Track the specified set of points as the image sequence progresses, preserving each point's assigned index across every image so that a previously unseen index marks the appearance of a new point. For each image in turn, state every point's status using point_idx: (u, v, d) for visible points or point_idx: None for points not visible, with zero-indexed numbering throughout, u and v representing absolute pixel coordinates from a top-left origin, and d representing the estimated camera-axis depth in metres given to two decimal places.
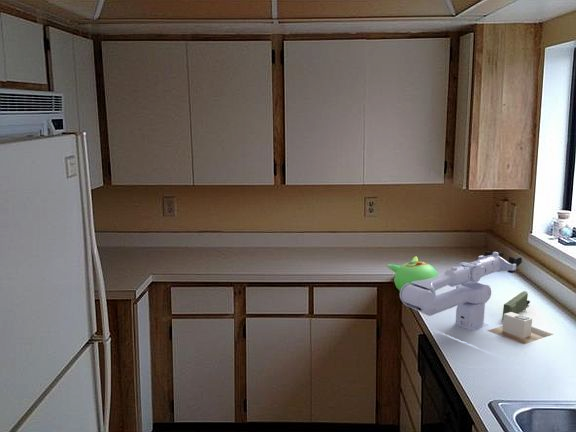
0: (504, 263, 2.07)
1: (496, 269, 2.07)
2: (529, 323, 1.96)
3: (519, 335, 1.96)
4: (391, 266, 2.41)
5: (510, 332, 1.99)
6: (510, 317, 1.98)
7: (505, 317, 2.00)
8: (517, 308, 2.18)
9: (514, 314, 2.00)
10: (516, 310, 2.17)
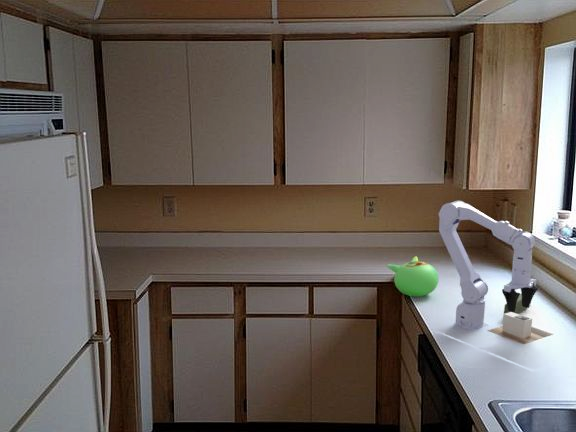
0: None
1: (513, 275, 1.95)
2: (529, 323, 1.96)
3: (519, 335, 1.96)
4: (391, 266, 2.41)
5: (510, 332, 1.99)
6: (510, 317, 1.98)
7: (505, 317, 2.00)
8: (518, 308, 2.17)
9: (514, 314, 2.00)
10: (517, 310, 2.17)
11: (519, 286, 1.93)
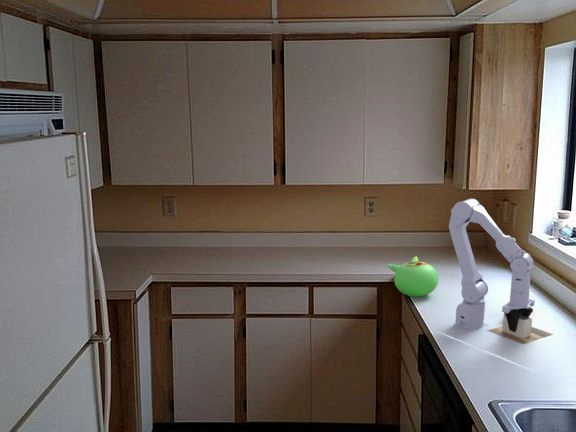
0: None
1: (511, 296, 1.96)
2: (529, 323, 1.96)
3: (519, 335, 1.96)
4: (391, 266, 2.41)
5: (510, 332, 1.99)
6: None
7: (505, 317, 2.00)
8: None
9: None
10: None
11: (517, 307, 1.94)
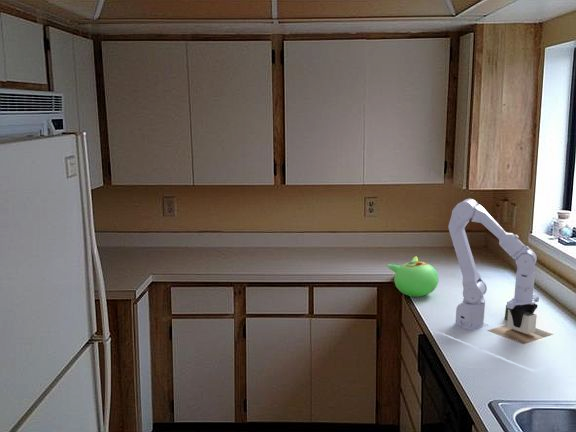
0: None
1: (516, 292, 1.98)
2: (534, 319, 1.97)
3: (524, 331, 1.97)
4: (391, 266, 2.41)
5: (515, 328, 2.00)
6: None
7: (510, 313, 2.01)
8: None
9: None
10: None
11: (522, 303, 1.95)
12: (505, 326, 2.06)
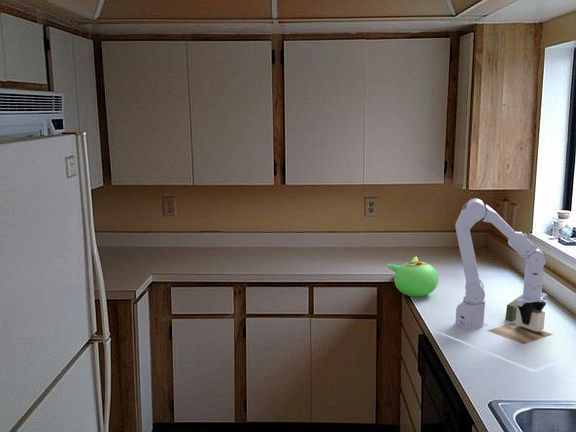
0: (527, 300, 1.99)
1: (525, 289, 2.00)
2: (542, 316, 1.99)
3: (532, 328, 2.00)
4: (391, 266, 2.41)
5: (523, 325, 2.03)
6: None
7: (518, 311, 2.04)
8: None
9: None
10: None
11: (531, 301, 1.98)
12: (505, 326, 2.06)
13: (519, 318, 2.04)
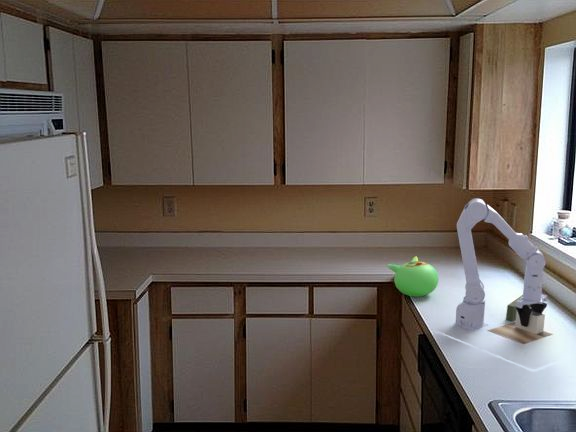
0: (527, 302, 1.99)
1: (524, 291, 2.00)
2: (542, 319, 2.00)
3: (532, 331, 2.00)
4: (391, 266, 2.41)
5: (523, 328, 2.03)
6: None
7: None
8: None
9: None
10: None
11: (530, 302, 1.98)
12: (505, 326, 2.06)
13: (519, 321, 2.04)
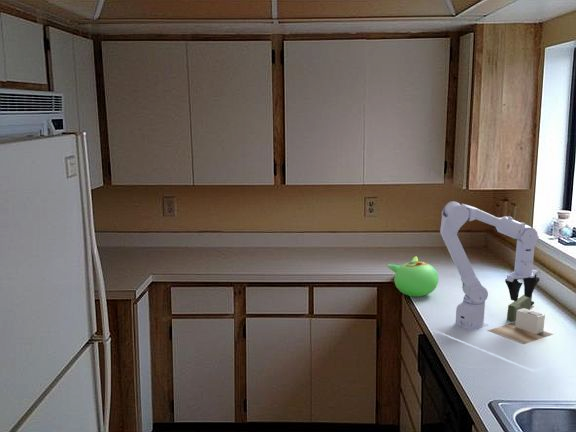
0: (518, 276, 2.02)
1: (516, 265, 2.04)
2: (542, 319, 2.00)
3: (532, 331, 2.00)
4: (391, 266, 2.41)
5: (523, 328, 2.03)
6: (523, 313, 2.02)
7: (518, 313, 2.04)
8: None
9: (527, 310, 2.04)
10: None
11: (521, 276, 2.01)
12: (505, 326, 2.06)
13: (519, 321, 2.04)
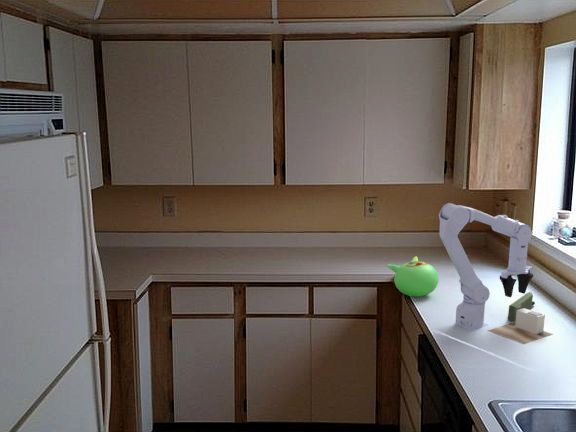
0: None
1: (510, 262, 2.06)
2: (542, 319, 2.00)
3: (532, 331, 2.00)
4: (391, 266, 2.41)
5: (523, 328, 2.03)
6: (523, 313, 2.02)
7: (518, 313, 2.04)
8: None
9: (527, 310, 2.04)
10: None
11: (515, 272, 2.04)
12: (505, 326, 2.06)
13: (519, 321, 2.04)
